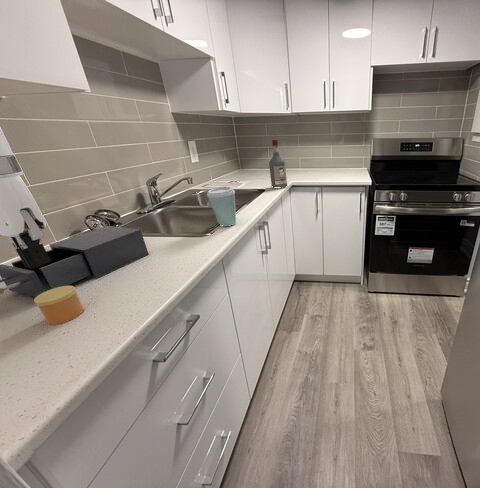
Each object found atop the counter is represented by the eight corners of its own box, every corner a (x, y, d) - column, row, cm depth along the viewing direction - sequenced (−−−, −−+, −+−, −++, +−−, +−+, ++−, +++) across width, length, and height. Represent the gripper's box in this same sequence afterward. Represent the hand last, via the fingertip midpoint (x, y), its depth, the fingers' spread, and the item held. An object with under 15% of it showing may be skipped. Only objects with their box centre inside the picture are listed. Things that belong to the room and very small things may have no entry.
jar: (40, 328, 53) (27, 306, 50) (53, 311, 58) (41, 290, 56) (79, 319, 55) (68, 297, 53) (88, 303, 60) (78, 282, 58)
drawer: (14, 312, 57) (-3, 285, 54) (-20, 301, 61) (-37, 276, 58) (107, 269, 73) (98, 247, 71) (75, 263, 77) (66, 242, 75)
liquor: (270, 187, 179) (264, 140, 167) (281, 185, 184) (277, 139, 172) (277, 189, 172) (272, 140, 160) (288, 187, 178) (284, 139, 166)
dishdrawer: (97, 278, 71) (84, 250, 67) (62, 271, 75) (48, 244, 72) (149, 254, 84) (140, 229, 81) (117, 249, 89) (107, 225, 85)
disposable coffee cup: (234, 229, 104) (227, 191, 98) (208, 229, 105) (200, 191, 99) (244, 220, 113) (238, 185, 107) (220, 220, 114) (213, 186, 108)
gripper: (-70, 171, 43) (-9, 268, 51) (-22, 172, 39) (37, 279, 46) (-6, 165, 50) (39, 252, 57) (42, 166, 45) (85, 260, 52)
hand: (38, 264), depth 52 cm, fingers closed
